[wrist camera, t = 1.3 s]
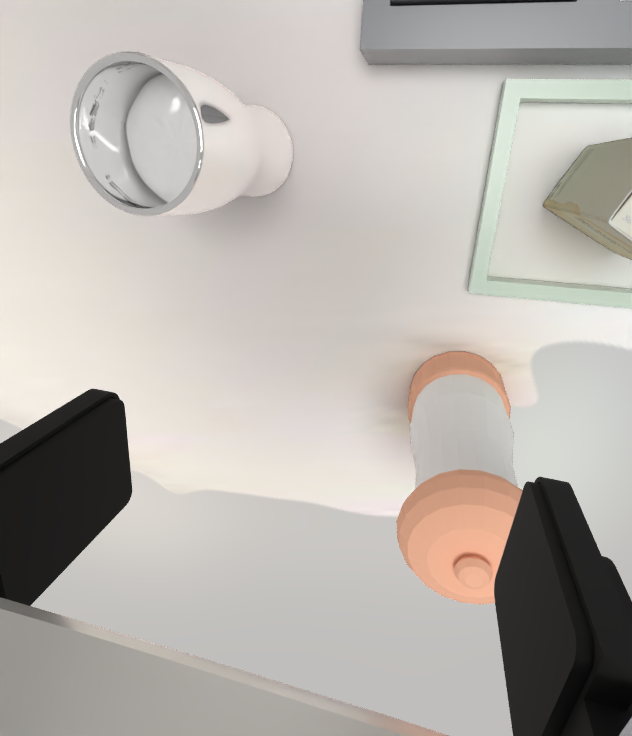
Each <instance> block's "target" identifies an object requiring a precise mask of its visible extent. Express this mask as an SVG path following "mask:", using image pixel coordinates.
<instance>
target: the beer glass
mask: <svg viewBox="0 0 632 736" xmlns="http://www.w3.org/2000/svg"><path fill="white" fill-rule="evenodd" d="M70 128H71V137H72V143H73V147H74V151H75V154H76V157H77V160H78V162H79V164H80V167H81V169H82V171H83V172H84V174H85V176H86V178H87V179H88V181H89V182H90V183H91V185H92V186H93V187H94V189H95V190H96V191H97V192H98V193H99V194H100V195H101V196H102V197H103V198H104V199H105V200H107V201H108V202H109V203H111V204H112V205H113V206H115V207H117V208H119V209H121V210H123V211H125V212H127V213H130V214H134V215H139V216H156V215H188V214H197V213H202V212H206V211H210V210H214V209H216V208H219V207H221V206H223V205H225V204H227V203H229V202H231V201H233V200H234V199H236V198H237V197H239V196H240V195H244V196H248V197H261V196H265V195H268V194H270V193H272V192H274V191H275V190H276V189H278V188H279V187H280V186H281V185H282V184H283V182H284V181H285V179H286V178H287V176H288V174H289V172H290V169H291V165H292V160H293V146H292V141H291V137H290V134H289V132H288V130H287V128H286V126H285V124H284V123H283V121H282V120H281V119H280V118H279V117H278V116H277V115H276V114H275V113H274V112H272V111H271V110H269V109H267V108H265V107H262V106H258V105H244V104H243V103H242V101H241V100H240V99H239V98H238V97H237V96H236V95H234V94H233V93H232V92H231V91H230V90H228V89H227V88H226V87H225V86H224V85H222V84H221V83H220V82H218V81H217V80H215V79H213V78H211V77H209V76H207V75H205V74H204V73H202V72H200V71H198V70H195V69H192V68H190V67H187V66H184V65H181V64H178V63H175V62H171V61H167V60H163V59H158V58H154V57H151V56H149V55H146V54H142V53H138V52H130V51H125V52H117V53H113V54H110V55H107V56H105V57H103V58H101V59H100V60H98V61H97V62H95V63H94V64H93V65H92V66H91V67H90V68H89V69H88V70H87V71H86V73H85V74H84V75H83V77H82V78H81V80H80V82H79V84H78V86H77V88H76V91H75V94H74V97H73V101H72V106H71V114H70Z"/></svg>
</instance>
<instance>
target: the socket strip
mask: <svg viewBox="0 0 632 736" xmlns="http://www.w3.org/2000/svg"><path fill="white" fill-rule="evenodd" d="M360 50H361V52H362V54H363V55H364V57H365V58H366V60H367V62H368V63H369V64H632V0H624V1H620V0H363V12H362V27H361V42H360Z"/></svg>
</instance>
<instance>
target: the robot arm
mask: <svg viewBox="0 0 632 736" xmlns="http://www.w3.org/2000/svg"><path fill="white" fill-rule="evenodd" d="M131 494H132V483H131V472H130V461H129V450H128V439H127V428H126V417H125V407H124V403H123V401H121V400H120V399H119V397H118V395H117V394H116V393H113V392H108V391H103V390H98V389H90V390H88V391H86V392H85V393H83V394H81V395H80V396H78V397H76V398H75V399H73V400H71V401H70V402H68V403H67V404H65V405H63V406H62V407H60V408H58V409H57V410H55V411H53V412H52V413H50V414H48V415H47V416H45V417H43V418H42V419H40V420H38V421H37V422H35V423H34V424H32V425H30V426H29V427H27V428H25V429H24V430H22V431H20V432H19V433H17V434H16V435H14V436H12V437H10V438H9V439H7V440H6V441H4V442H3V443H1V444H0V736H448V735H445V734H442V733H439V732H436V731H433V730H430V729H427V728H424V727H420V726H417V725H414V724H411V723H408V722H405V721H402V720H399V719H396V718H393V717H390V716H387V715H384V714H381V713H378V712H374V711H371V710H368V709H365V708H361V707H358V706H355V705H352V704H349V703H345V702H342V701H339V700H336V699H332V698H329V697H326V696H323V695H320V694H317V693H313V692H310V691H307V690H304V689H301V688H297V687H294V686H291V685H288V684H284V683H281V682H278V681H275V680H271V679H268V678H265V677H262V676H259V675H256V674H252V673H249V672H246V671H243V670H239V669H236V668H232V667H230V666H226V665H223V664H220V663H216V662H213V661H210V660H207V659H203V658H200V657H197V656H194V655H190V654H187V653H184V652H180V651H177V650H174V649H170V648H167V647H164V646H161V645H158V644H154V643H151V642H148V641H144V640H141V639H138V638H134V637H131V636H128V635H125V634H121V633H118V632H115V631H111V630H108V629H105V628H102V627H98V626H95V625H92V624H88V623H85V622H82V621H78V620H75V619H71V618H68V617H65V616H61V615H58V614H55V613H51V612H47V611H45V610H41V609H38V608H34V607H31V606H30V605H31V604H32V603H33V602H34V601H35V600H36V599H37V598H38V597H39V596H40V595H41V594H42V593H43V592H44V591H45V590H46V588H48V587H49V585H50V584H51V583H52V582H53V581H54V580H55V579H56V578H57V577H58V576H59V575H60V574H61V573H62V572H63V571H64V570H65V569H66V568H67V566H68V565H69V564H70V563H71V562H72V561H73V560H74V559H75V558H76V557H77V556H78V555H79V554H80V553H81V552H82V551H83V550H84V549H85V548H86V547H87V546H88V545H89V544H90V543H91V541H92V540H93V539H94V538H95V537H96V536H97V535H98V534H99V533H100V532H101V531H102V530H103V529H104V528H105V527H106V526H107V525H108V524H109V523H110V522H111V520H112V519H113V518H114V517H115V516H116V515H117V514H118V513H119V512H120V511H121V510H122V509H123V508H124V507H125V506H126V505H127V503H128V502H129V500H130V497H131ZM494 598H495V605H496V612H497V619H498V627H499V634H500V641H501V649H502V656H503V664H504V671H505V678H506V686H507V692H508V701H509V707H510V715H511V722H512V730H513V736H632V601H631V599H630V597H629V595H628V593H627V590H626V588H625V586H624V584H623V582H622V579H621V577H620V575H619V573H618V571H617V569H616V567H615V565H614V563H613V562H612V561H611V560H610V559H608V558H607V557H603V556H601V554H600V551H599V549H598V547H597V544H596V542H595V540H594V538H593V535H592V533H591V531H590V529H589V526H588V524H587V521H586V519H585V517H584V515H583V512H582V510H581V508H580V505H579V503H578V501H577V498H576V496H575V494H574V491H573V489H572V487H571V485H570V484H569V483H567V482H564V481H558V480H553V479H548V478H543V477H538V478H537V479H536V480H535V483H533V482H526V484H525V486H524V488H523V491H522V495H521V498H520V501H519V504H518V507H517V510H516V514H515V517H514V520H513V523H512V526H511V529H510V533H509V536H508V539H507V542H506V545H505V548H504V552H503V555H502V558H501V561H500V564H499V567H498V571H497V574H496V577H495V583H494Z"/></svg>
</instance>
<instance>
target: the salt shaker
mask: <svg viewBox="0 0 632 736" xmlns="http://www.w3.org/2000/svg"><path fill="white" fill-rule="evenodd" d="M510 407H511V406H510V403H509V400H508V397H507V394H506V391H505V388H504V385H503V382H502V378H501V375H500V374H499V372H498V371H497V370H496V369H495V367H494V366H493V365H492V364H491V363H490V362H488V361H487V360H485V359H484V358H482V357H480V356H479V355H475V354H471V353H468V352H447V353H443V354H440V355H437V356H434V357H433V358H431V359H430V360H428V361H427V362H425V363H424V364H423V365H422V366H421V367H420V368H419V370H418V371H417V372H416V373H415V375H414V378H413V381H412V384H411V387H410V394H409V403H408V412H409V420H410V423H411V427H410V443H411V448H412V453H413V457H414V462H415V467H416V486H415V490H414V491H413V492H412V493H411V495H410V496H409V497H408V498H407V499H406V501H405V502H404V503H403V505H402V508H401V511H400V513H399V516H398V519H397V538H398V543H399V546H400V549H401V552H402V554H403V556H404V559H405V561H406V563H407V565H408V566H409V567H410V568H411V569H412V571H413V572H414V573H415V574H416V575H417V576H418V577H419V578H420V579H421V580H422V582H423V583H424V584H425V585H426V586H428V587H429V588H431V589H433V590H434V591H435V592H437V593H438V594H440V595H442V596H444V597H447V598H450V599H453V600H456V601H459V602H465V603H473V604H488V603H495V598H494V583H495V577H496V574H497V571H498V567H499V564H500V561H501V558H502V555H503V552H504V548H505V545H506V542H507V539H508V536H509V533H510V529H511V526H512V523H513V520H514V517H515V514H516V510H517V507H518V504H519V501H520V498H521V495H522V491H523V490H521V489H520V488H518V485H517V481H516V477H515V473H514V469H513V438H514V435H513V434H514V432H513V429H512V426H511V423H510Z"/></svg>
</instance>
